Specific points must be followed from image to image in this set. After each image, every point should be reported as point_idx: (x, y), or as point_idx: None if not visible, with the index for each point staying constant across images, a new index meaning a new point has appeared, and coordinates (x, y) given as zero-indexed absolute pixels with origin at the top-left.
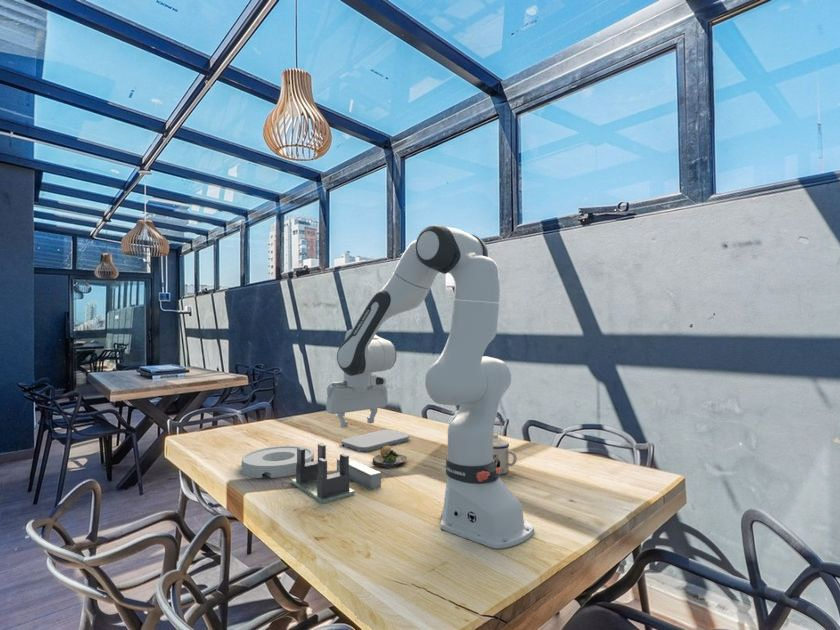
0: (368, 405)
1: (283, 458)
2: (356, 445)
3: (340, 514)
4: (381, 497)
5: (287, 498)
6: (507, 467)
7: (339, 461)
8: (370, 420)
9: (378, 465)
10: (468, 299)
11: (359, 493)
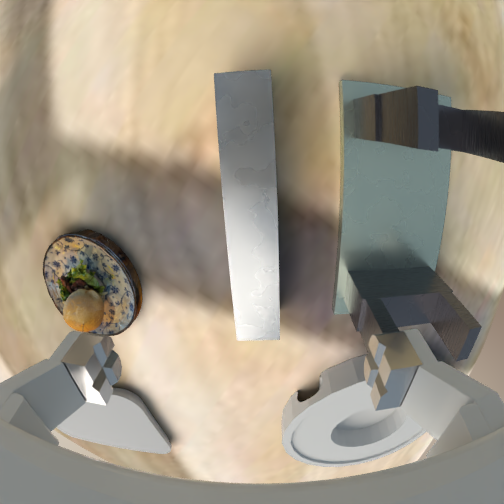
0: (36, 492)
1: (338, 432)
2: (145, 417)
3: (427, 10)
4: (274, 9)
5: (481, 202)
6: None
7: (279, 319)
8: (93, 348)
9: (132, 276)
10: None
11: (320, 79)
